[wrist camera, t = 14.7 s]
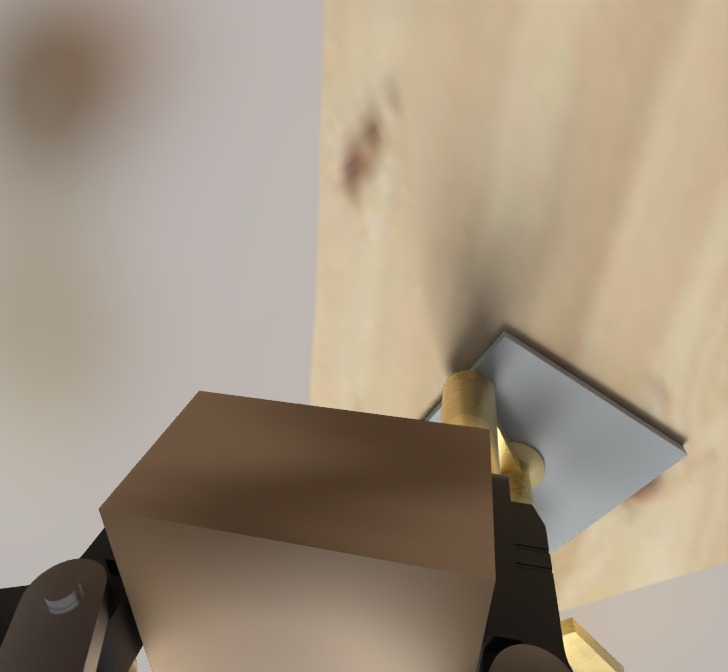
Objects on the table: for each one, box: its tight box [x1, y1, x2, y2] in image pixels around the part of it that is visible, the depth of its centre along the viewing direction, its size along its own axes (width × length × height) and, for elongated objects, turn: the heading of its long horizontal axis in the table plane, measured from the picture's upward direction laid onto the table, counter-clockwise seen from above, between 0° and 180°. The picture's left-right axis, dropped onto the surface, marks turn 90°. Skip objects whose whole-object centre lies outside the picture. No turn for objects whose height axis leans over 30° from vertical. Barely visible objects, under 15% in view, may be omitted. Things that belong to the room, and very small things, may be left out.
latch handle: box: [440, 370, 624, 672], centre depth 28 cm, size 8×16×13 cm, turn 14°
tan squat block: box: [99, 391, 496, 672], centre depth 9 cm, size 6×6×3 cm
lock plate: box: [424, 330, 688, 554], centre depth 33 cm, size 14×17×7 cm
